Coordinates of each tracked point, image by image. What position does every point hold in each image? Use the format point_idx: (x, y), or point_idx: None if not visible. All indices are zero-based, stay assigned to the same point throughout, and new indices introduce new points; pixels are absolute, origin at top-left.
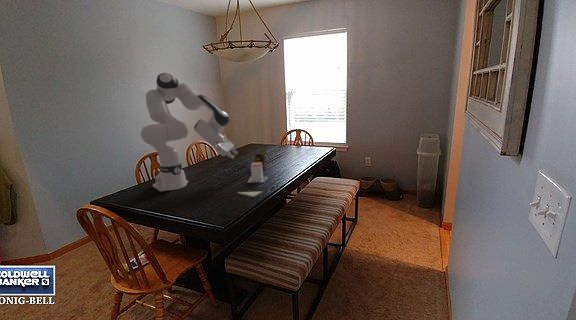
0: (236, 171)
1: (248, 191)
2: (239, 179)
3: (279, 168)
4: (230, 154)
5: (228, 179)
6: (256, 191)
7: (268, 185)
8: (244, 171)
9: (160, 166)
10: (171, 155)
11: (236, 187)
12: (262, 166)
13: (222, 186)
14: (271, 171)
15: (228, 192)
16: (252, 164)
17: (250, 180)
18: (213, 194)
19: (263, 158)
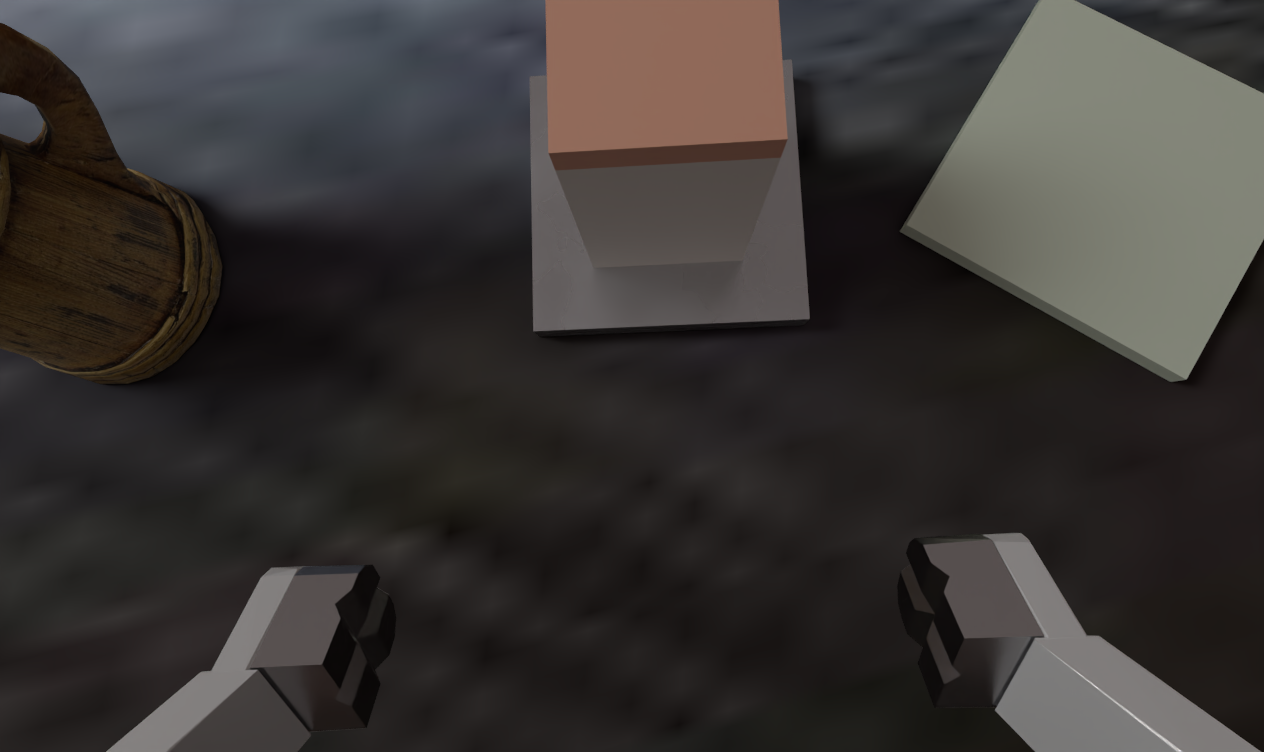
0: (110, 673)
1: (1163, 222)
2: (554, 507)
3: (92, 4)
4: (1200, 719)
5: (534, 698)
6: (1159, 114)
7: (853, 28)
8: (139, 527)
9: None
10: None
11: (925, 459)
12: (134, 189)
13: (874, 701)
14: (222, 94)
15: (1137, 525)
16: (723, 109)
17: (710, 291)
18: None
19: (11, 67)
